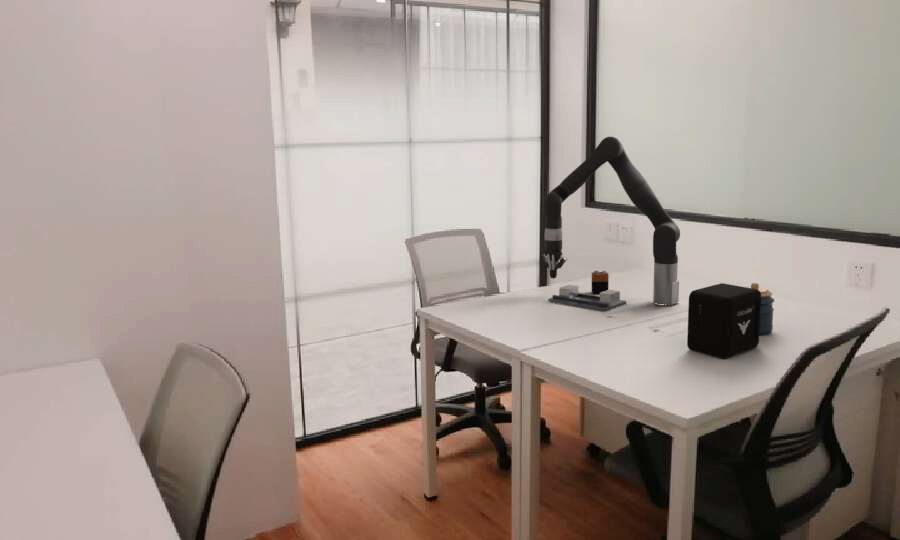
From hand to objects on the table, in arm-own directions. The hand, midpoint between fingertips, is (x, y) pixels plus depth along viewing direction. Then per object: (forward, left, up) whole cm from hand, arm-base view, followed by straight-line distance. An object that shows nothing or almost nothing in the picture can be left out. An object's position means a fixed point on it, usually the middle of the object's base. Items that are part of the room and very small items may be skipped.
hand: (553, 277), depth 314 cm
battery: (-12, -18, -9) cm, 23 cm away
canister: (-86, 0, -9) cm, 87 cm away
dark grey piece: (-17, 0, -9) cm, 19 cm away
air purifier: (-87, +26, -9) cm, 91 cm away
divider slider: (-8, +2, -7) cm, 11 cm away
